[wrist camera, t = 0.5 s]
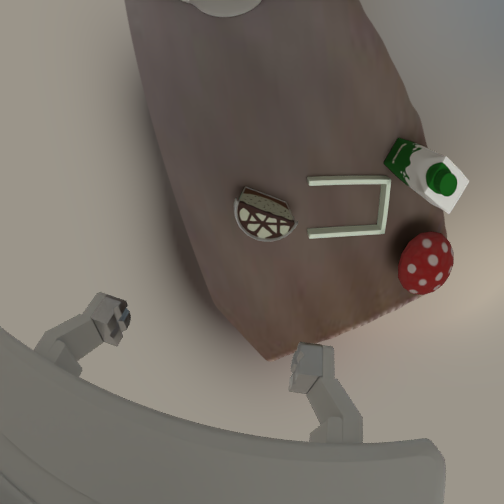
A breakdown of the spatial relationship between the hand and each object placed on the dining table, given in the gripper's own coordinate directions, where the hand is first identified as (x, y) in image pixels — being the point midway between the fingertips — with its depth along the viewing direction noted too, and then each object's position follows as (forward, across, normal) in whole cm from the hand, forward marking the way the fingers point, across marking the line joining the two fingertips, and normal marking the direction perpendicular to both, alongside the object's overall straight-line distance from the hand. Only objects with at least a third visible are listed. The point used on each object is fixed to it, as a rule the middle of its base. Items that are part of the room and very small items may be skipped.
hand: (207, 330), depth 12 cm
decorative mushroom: (+50, -38, +21) cm, 66 cm away
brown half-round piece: (+45, +2, +17) cm, 48 cm away
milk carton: (+50, -27, 0) cm, 57 cm away
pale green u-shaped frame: (+48, -17, +14) cm, 52 cm away
